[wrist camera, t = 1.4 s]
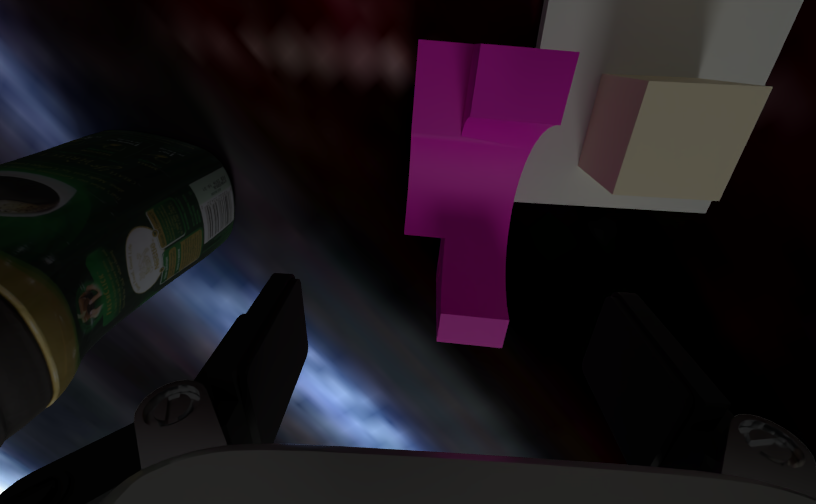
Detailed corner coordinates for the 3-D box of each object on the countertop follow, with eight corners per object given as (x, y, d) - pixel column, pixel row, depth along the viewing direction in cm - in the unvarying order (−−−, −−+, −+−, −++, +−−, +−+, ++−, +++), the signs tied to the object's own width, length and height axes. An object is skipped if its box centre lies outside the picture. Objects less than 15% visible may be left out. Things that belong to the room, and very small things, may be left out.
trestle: (909, -276, 14) (1179, -459, 9) (695, 207, 24) (768, 251, 19) (594, -279, 15) (680, -457, 10) (508, 196, 25) (528, 236, 19)
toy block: (421, 40, 21) (415, 37, 14) (534, 50, 21) (579, 51, 14) (403, 269, 28) (393, 336, 22) (486, 277, 28) (501, 347, 21)
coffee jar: (113, 226, 28) (-344, 482, 11) (89, 116, 24) (-651, 265, 8) (243, 251, 28) (-21, 535, 12) (240, 147, 24) (-159, 352, 8)
